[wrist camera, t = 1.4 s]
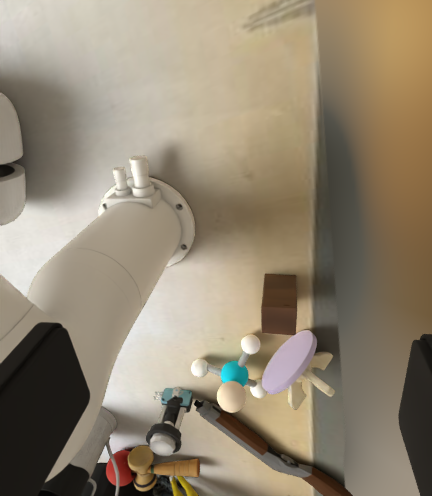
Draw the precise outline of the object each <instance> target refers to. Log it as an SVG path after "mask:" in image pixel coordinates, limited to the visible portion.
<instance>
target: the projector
mask: <svg viewBox="0 0 432 496" xmlns="http://www.w3.org/2000/svg"><path fill="white" fill-rule="evenodd" d="M22 156H23V145H22V136H21V129H20V123H19V119H18V116H17V113H16V110H15V108H14V106H13V104H12V103H11V101H10V100H9V99H8V98H7V97H6V96H5V95H4V94H2V93H0V226H2V225H5V224H8V223H10V222H12V221H14V220H15V219H16V218H17V217H18V216H19V215H20V214H21V212H22V211H23V209H24V206H25V200H26V182H25V170H24V168H23V167H22V166H20V165H18V164H14V163H10V162H13V161H16V160H18V159H19V158H21V157H22Z"/></svg>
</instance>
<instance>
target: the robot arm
mask: <svg viewBox="0 0 432 496" xmlns="http://www.w3.org/2000/svg"><path fill="white" fill-rule="evenodd" d="M129 160H130V166H131V172H132V175H133V177H131V178H127V176H126V170H125V167H116V168H113V173H114V179H115V181H116V184H115V185H114V186H113V187H111V188H110V189H109V190H108V192H107V193H106V194H105V195H104V197H103V199H102V201H101V204H100V207H99V216H98V217H97V218H96V219H95V220H94V221H93V222H92V223H90V224H89V225H88V226H87V227H86V228H85V229H84V230H82V231H81V232H80V233H79V234H78V235H77V236H76V237H75V238H73V239H72V240H71V241H70V242H69V243H68V244H67V245H66V246H64V247H63V248H62V249H61V250H60V251H59V252H58V253H56V254H55V255H54V256H53V257H52V258H51V259H50V260H49V261H48V262H46V263H45V264H44V265H43V266H42V268H41V269H40V270H39V271H38V273H37V274H36V276H35V277H34V279H33V281H32V283H31V285H30V288H29V290H28V293H27V297H25V296H24V295H23V294H22V293H21V292H20V291H18V290H17V289H16V288H15V287H14V286H13V285H12V284H11V283H10V282H9V281H8V280H6V279H5V278H4V277H3V276H2V275H1V274H0V496H38V494H39V492H40V490H41V488H42V487H43V485H44V483H45V482H47V481H49V480H50V479H51V478H53V477H54V476H56V475H57V474H58V473H59V472H61V471H62V470H63V469H64V468H65V467H66V466H67V465H68V464H69V463H70V462H71V460H72V459H73V458H74V457H75V456H76V454H77V453H78V452H79V450H80V449H81V447H82V446H83V444H84V443H85V441H86V439H87V438H88V436H89V434H90V432H91V430H92V428H93V426H94V424H95V421H96V419H97V417H98V414H99V411H100V408H101V405H102V402H103V399H104V396H105V392H106V389H107V385H108V382H109V378H110V375H111V372H112V369H113V366H114V363H115V361H116V358H117V356H118V354H119V352H120V349H121V347H122V345H123V343H124V341H125V339H126V337H127V335H128V334H129V332H130V330H131V328H132V326H133V324H134V323H135V321H136V319H137V317H138V316H139V314H140V312H141V310H142V309H143V307H144V305H145V303H146V302H147V300H148V298H149V296H150V294H151V293H152V291H153V289H154V287H155V285H156V284H157V282H158V280H159V278H160V276H161V275H162V273H163V271H164V269H165V268H166V267H169V266H172V265H174V264H176V263H177V262H179V261H180V260H182V259H183V258H184V257H185V256H186V254H187V253H188V251H189V250H190V248H191V246H192V243H193V241H194V236H195V221H194V216H193V214H192V211H191V209H190V207H189V205H188V204H187V202H186V200H185V199H184V198H183V197H182V196H181V195H180V193H179V192H178V191H176V190H175V189H174V188H172V187H171V186H170V185H168V184H166V183H164V182H162V181H160V180H157V179H154V178H150V177H149V174H148V173H149V168H148V162H147V157H146V156H133V157H131V158H129ZM179 204H181V205H182V206H180V205H179ZM184 244H185V245H184ZM399 426H400V430H401V433H402V437H403V440H404V443H405V447H406V450H407V453H408V456H409V460H410V463H411V466H412V470H413V473H414V476H415V479H416V483H417V486H418V489H419V492H420V496H432V334H423V335H422V336H421V338H420V340H414V341H413V343H412V347H411V352H410V358H409V362H408V368H407V373H406V378H405V384H404V389H403V394H402V400H401V404H400V410H399Z"/></svg>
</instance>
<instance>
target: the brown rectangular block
mask: <svg viewBox="0 0 432 496" xmlns="http://www.w3.org/2000/svg"><path fill="white" fill-rule="evenodd" d="M296 319H297V290H296V275H276V274H265V278H264V287H263V297H262V306H261V325H262V333H269V334H283V335H296Z"/></svg>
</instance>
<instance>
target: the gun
mask: <svg viewBox="0 0 432 496" xmlns="http://www.w3.org/2000/svg"><path fill="white" fill-rule="evenodd" d="M194 405H195V406H196V407H197V408H196V411H197V412H199V413H200V416H202V417H203V418H204V419H206V420H207V421H208V422H210V423H211V424H212V425H214V426H215V427H217V428H218V429H219V430H221V431H222V432H223V433H225V434H226V435H227V436H229V437H230V438H231V439H233V440H234V441H235V442H237V443H238V444H240V445H241V446H242V447H244V448H245V449H246V450H248V451H249V452H250V453H252V454H253V455H254V456H256V457H257V458H258V459H260V460H261V461H263V462H264V463H265V464H267V465H268V466H269V467H271V468H272V469H274V470H276V471H278V472H282V473H285V474H288V475H293V476H297V477H301V478H302V479H304V480H305V481H306V482H308V483H309V484H310V485H312V486H313V487H314V488H315V489H316V490H317V491H318V492H319V493H321V494H322V495H323V496H353V495H352V494H351V493H350V492H348V490H347V489H346V488H344V487H343V486H342V485H341V484H340V483H338V482H337V481H336V480H334V479H333V478H331V477H329V476H328V475H326V474H324V473H323V472H321V471H319V470H317V469H316V468H314V467H312V466H307V465H302V464H298V463H297V462H295V461H294V460H293V459H291V458H290V457H288V456H286V455H284V454H278V453H277V452H276V451H275V450H274V449H273V448H272V447H271V446H270V445H268V444H267V443H266V442H265V441H264V440H263V439H262V438H260V437H259V436H258V435H257V434H256V433H254V432H253V431H252V430H251V429H249V428H248V427H247V426H245V425H244V424H243V423H241V422H240V421H239V420H237V419H236V418H235V417H233V416H232V415H230V414H229V413H227V412H225V411H224V410H222V409H221V408H220V407H218V406H217V405H216V404H215V403H209V402H207V401H206V400H204V401H202V402H199V401H198V400H196V401H195V403H194Z"/></svg>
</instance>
